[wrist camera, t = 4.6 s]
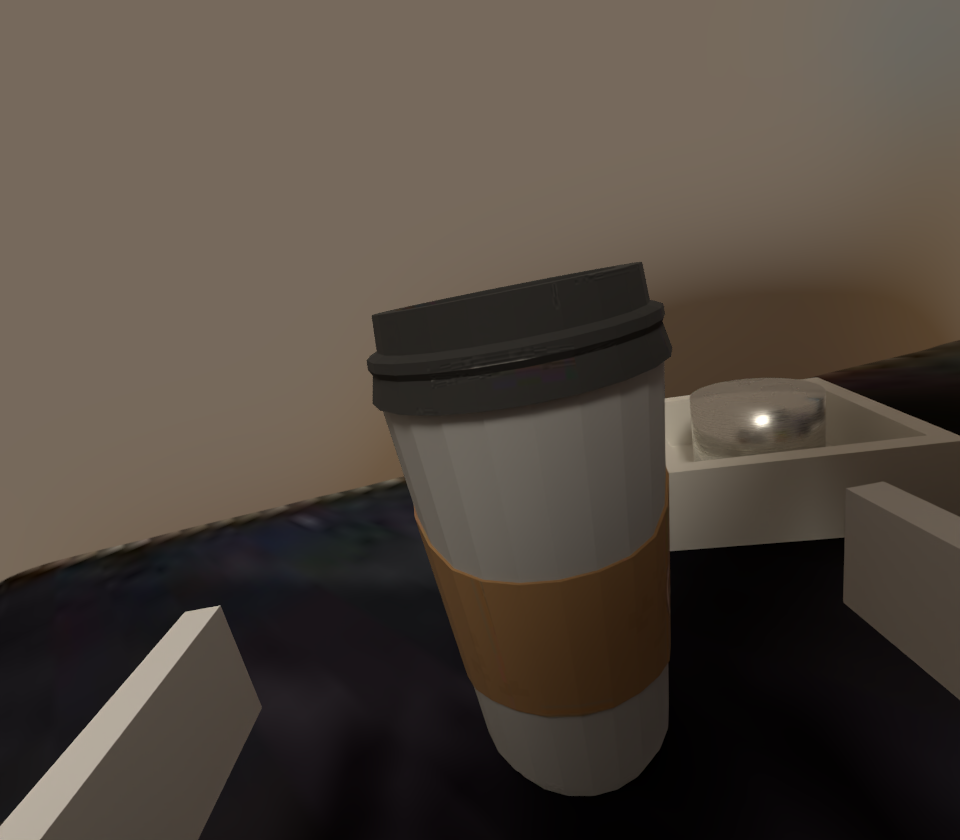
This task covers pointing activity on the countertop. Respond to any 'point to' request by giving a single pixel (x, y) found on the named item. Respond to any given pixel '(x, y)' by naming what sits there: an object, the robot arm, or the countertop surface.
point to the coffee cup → (544, 509)
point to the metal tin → (757, 417)
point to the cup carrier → (804, 475)
